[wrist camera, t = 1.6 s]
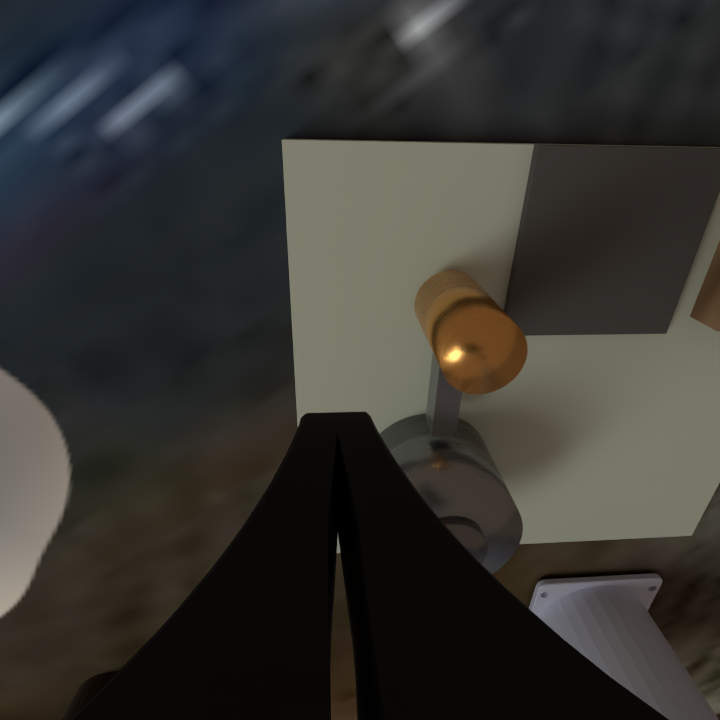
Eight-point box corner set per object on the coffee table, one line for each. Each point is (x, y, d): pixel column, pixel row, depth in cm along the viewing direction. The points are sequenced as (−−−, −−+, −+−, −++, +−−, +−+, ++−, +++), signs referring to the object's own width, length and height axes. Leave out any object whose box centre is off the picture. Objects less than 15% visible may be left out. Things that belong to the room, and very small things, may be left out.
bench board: (681, 524, 27) (691, 535, 26) (305, 542, 25) (304, 554, 24) (871, 150, 17) (894, 151, 16) (283, 138, 15) (281, 139, 15)
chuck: (477, 506, 23) (524, 627, 18) (361, 511, 23) (374, 636, 17) (495, 411, 21) (559, 519, 15) (364, 414, 20) (380, 527, 15)
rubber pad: (660, 329, 19) (666, 333, 19) (499, 331, 19) (503, 335, 18) (727, 148, 16) (735, 148, 16) (533, 144, 15) (538, 145, 15)
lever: (464, 412, 20) (498, 484, 16) (405, 414, 20) (425, 487, 16) (486, 270, 17) (536, 316, 13) (417, 270, 17) (446, 317, 13)
